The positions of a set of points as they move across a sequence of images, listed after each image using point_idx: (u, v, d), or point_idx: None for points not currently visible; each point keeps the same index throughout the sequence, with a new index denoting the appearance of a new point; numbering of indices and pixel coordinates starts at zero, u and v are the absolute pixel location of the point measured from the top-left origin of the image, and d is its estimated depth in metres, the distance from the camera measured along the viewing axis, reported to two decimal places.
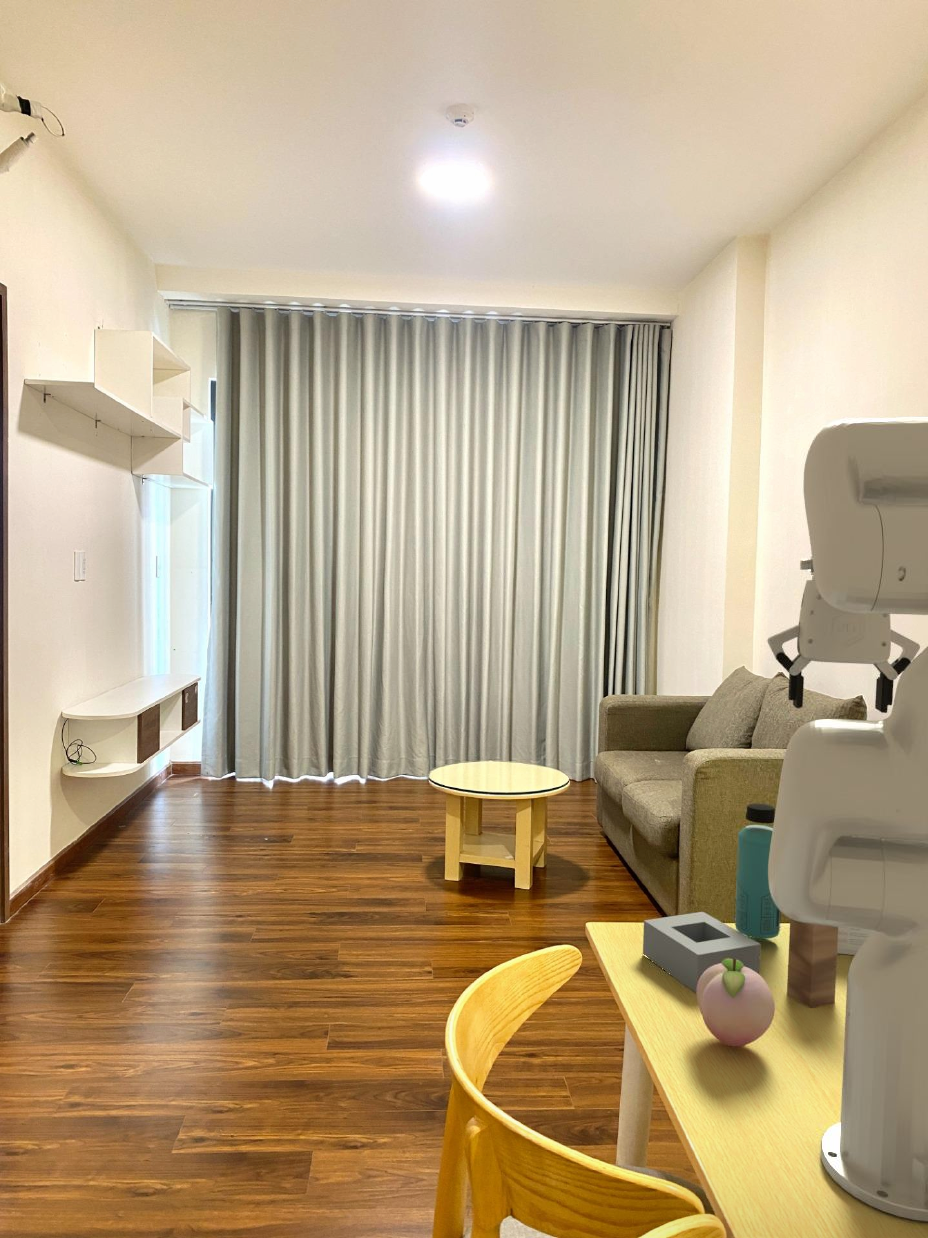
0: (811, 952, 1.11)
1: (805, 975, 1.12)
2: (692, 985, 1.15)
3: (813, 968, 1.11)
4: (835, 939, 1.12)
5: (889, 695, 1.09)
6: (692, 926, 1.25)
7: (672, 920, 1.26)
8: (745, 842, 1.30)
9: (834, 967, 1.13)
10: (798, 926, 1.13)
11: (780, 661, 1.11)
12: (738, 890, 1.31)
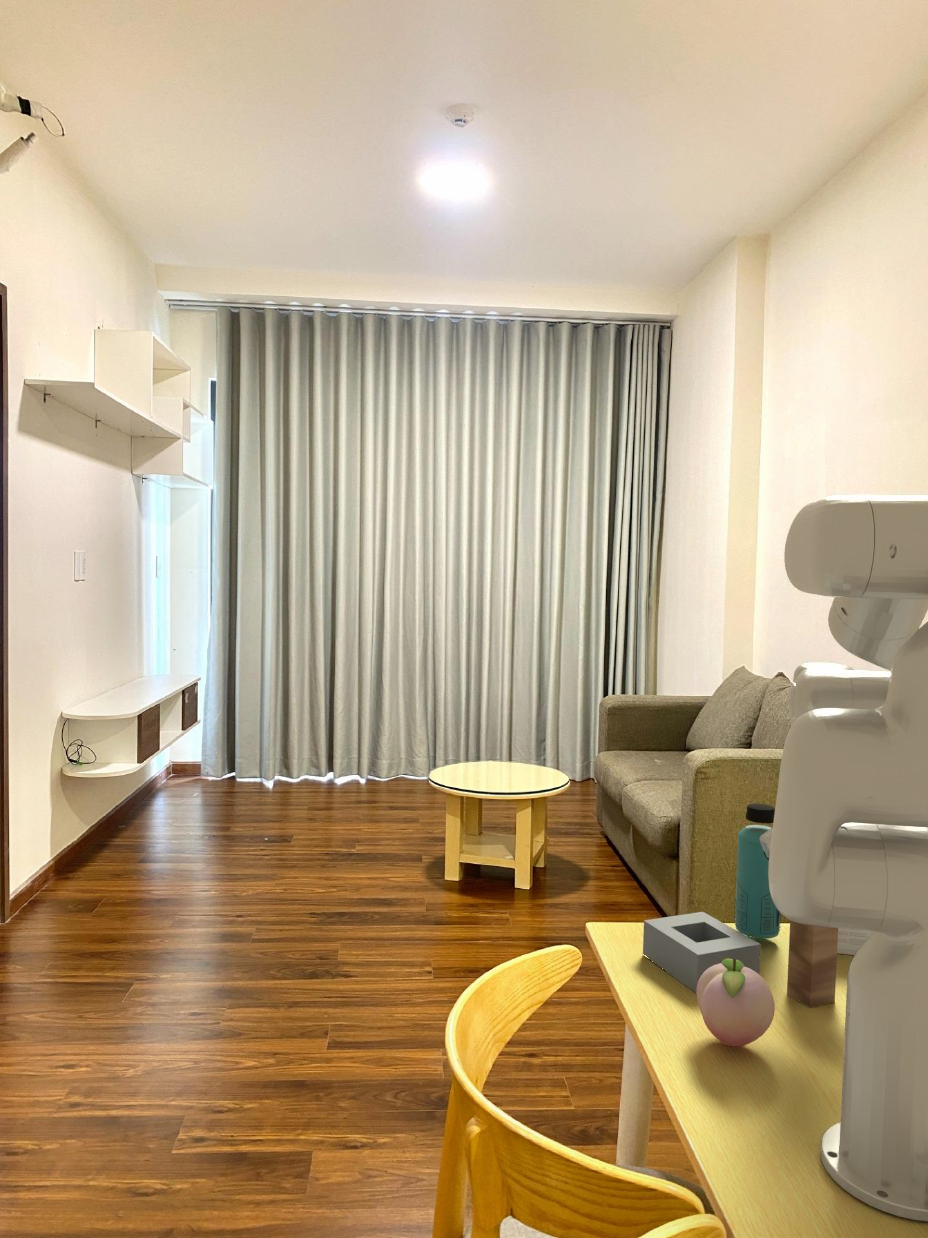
0: (811, 952, 1.11)
1: (805, 975, 1.12)
2: (692, 985, 1.15)
3: (813, 968, 1.11)
4: (835, 939, 1.12)
5: None
6: (692, 926, 1.25)
7: (672, 920, 1.26)
8: (745, 842, 1.30)
9: (834, 967, 1.13)
10: (798, 926, 1.13)
11: None
12: (738, 890, 1.31)
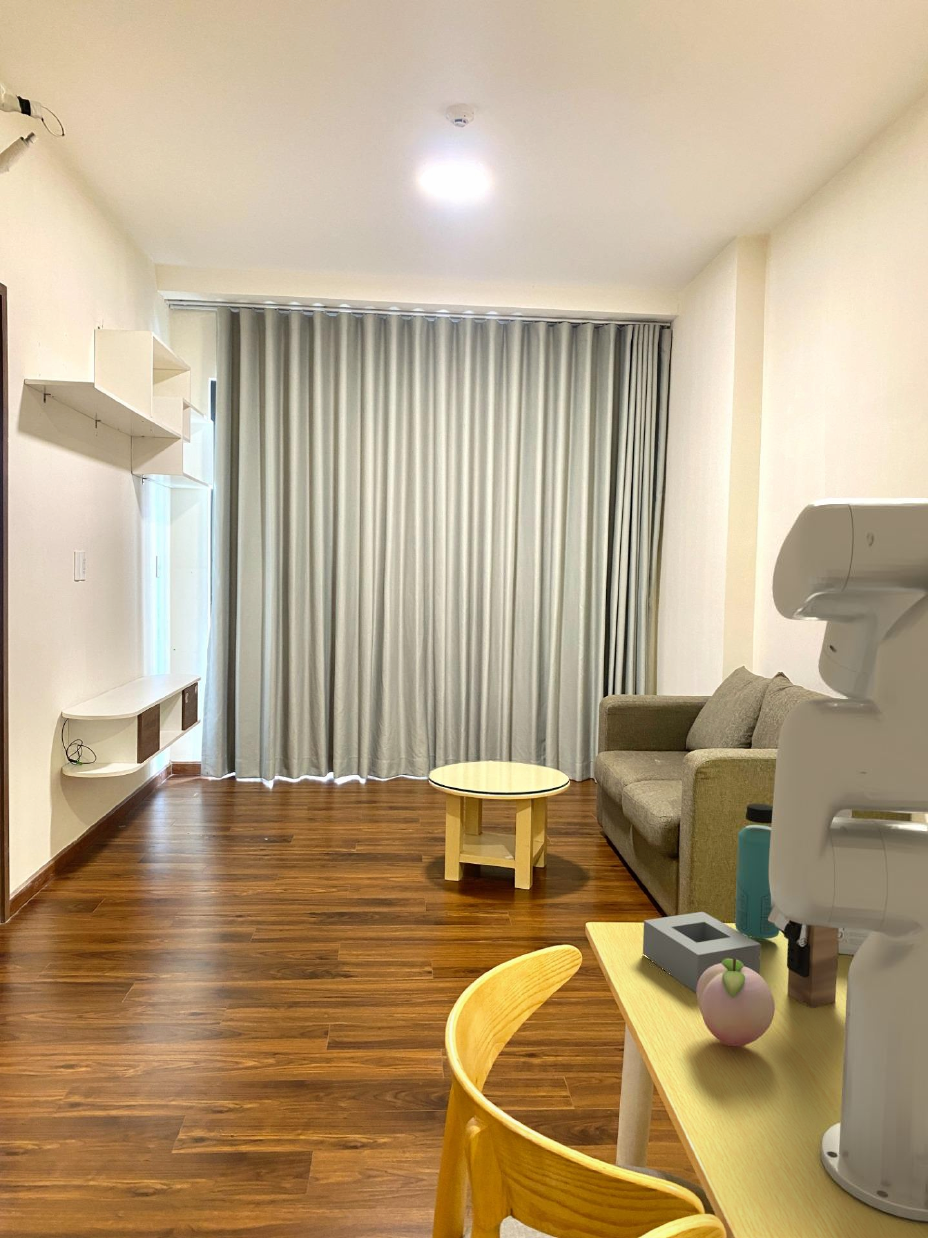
0: (812, 952, 1.11)
1: None
2: (692, 985, 1.15)
3: (814, 968, 1.11)
4: (835, 938, 1.12)
5: None
6: (692, 926, 1.25)
7: (672, 920, 1.26)
8: (745, 842, 1.30)
9: (835, 967, 1.13)
10: None
11: None
12: (738, 890, 1.31)
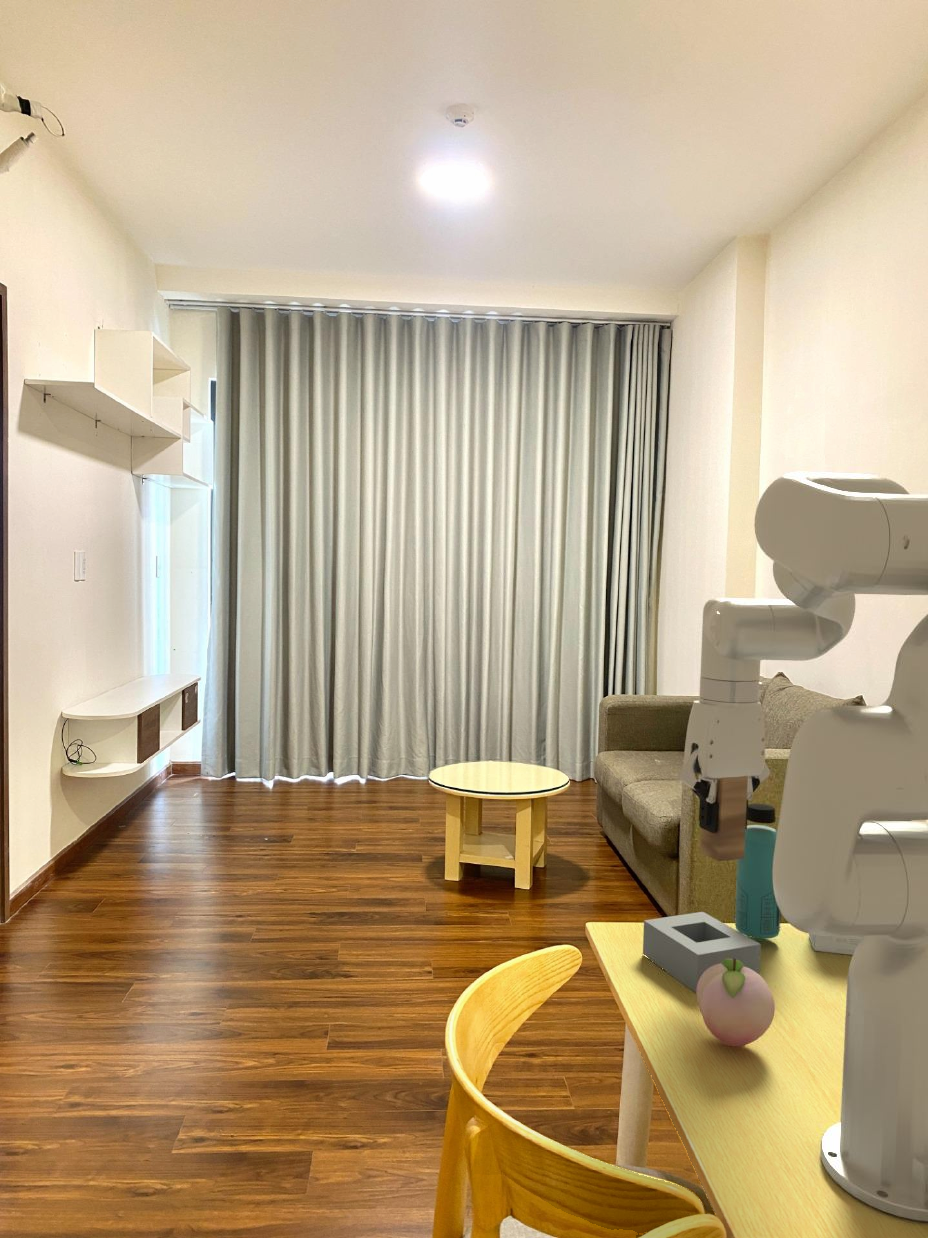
0: (720, 808, 1.17)
1: None
2: (692, 985, 1.15)
3: (722, 823, 1.17)
4: (744, 797, 1.18)
5: None
6: (692, 926, 1.25)
7: (672, 920, 1.26)
8: (745, 842, 1.30)
9: (743, 824, 1.19)
10: None
11: None
12: (738, 890, 1.31)
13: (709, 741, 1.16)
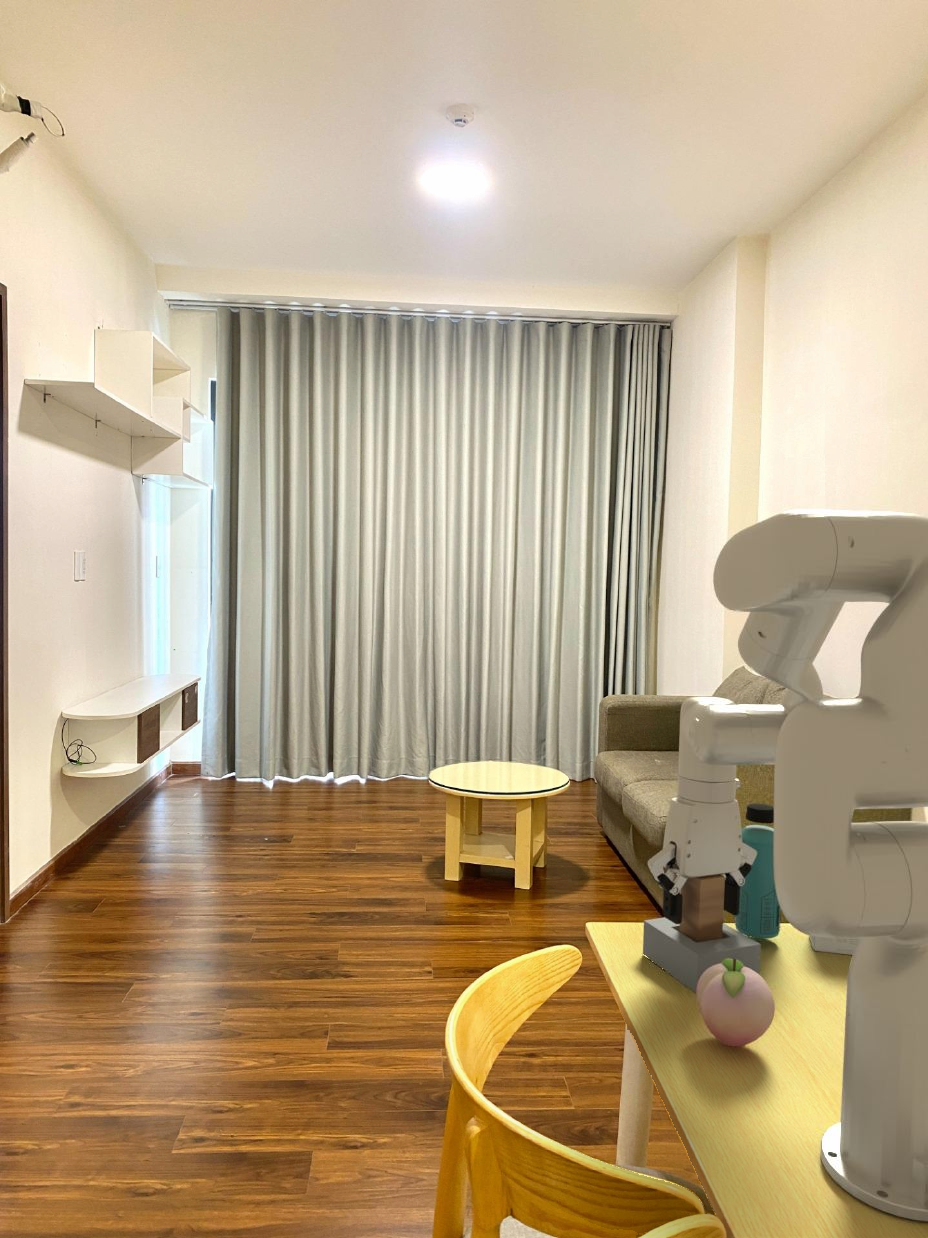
0: (698, 917, 1.19)
1: (693, 939, 1.20)
2: (692, 985, 1.15)
3: (700, 932, 1.19)
4: (721, 905, 1.20)
5: None
6: None
7: None
8: (745, 842, 1.30)
9: (720, 931, 1.21)
10: (688, 894, 1.21)
11: None
12: None
13: (687, 841, 1.18)
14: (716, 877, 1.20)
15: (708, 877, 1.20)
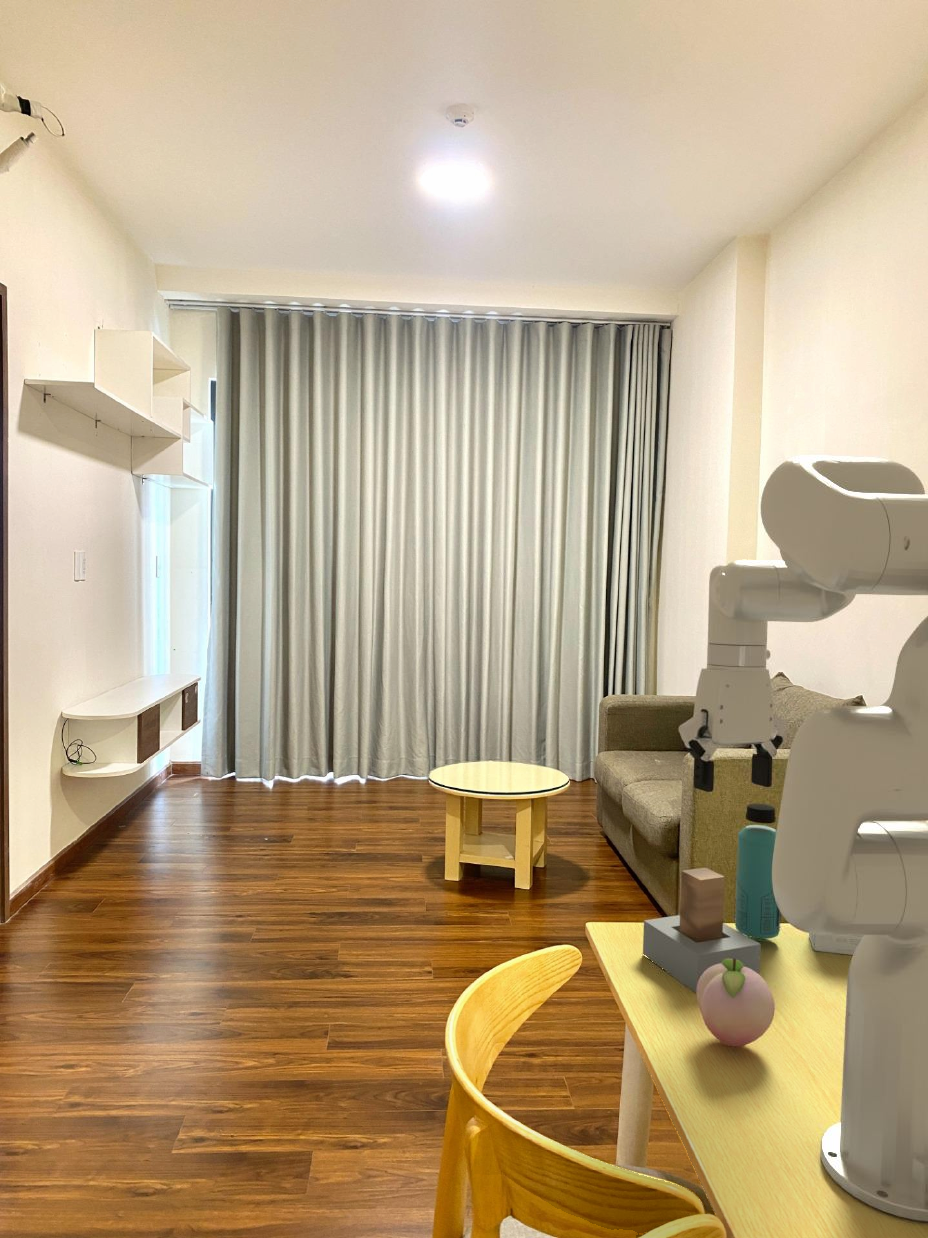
0: (698, 917, 1.19)
1: (693, 939, 1.20)
2: (692, 985, 1.15)
3: (700, 932, 1.19)
4: (721, 905, 1.20)
5: None
6: None
7: (672, 920, 1.26)
8: (745, 842, 1.30)
9: (720, 931, 1.21)
10: (688, 894, 1.21)
11: None
12: (738, 890, 1.31)
13: (719, 706, 1.15)
14: (716, 877, 1.20)
15: (708, 877, 1.20)
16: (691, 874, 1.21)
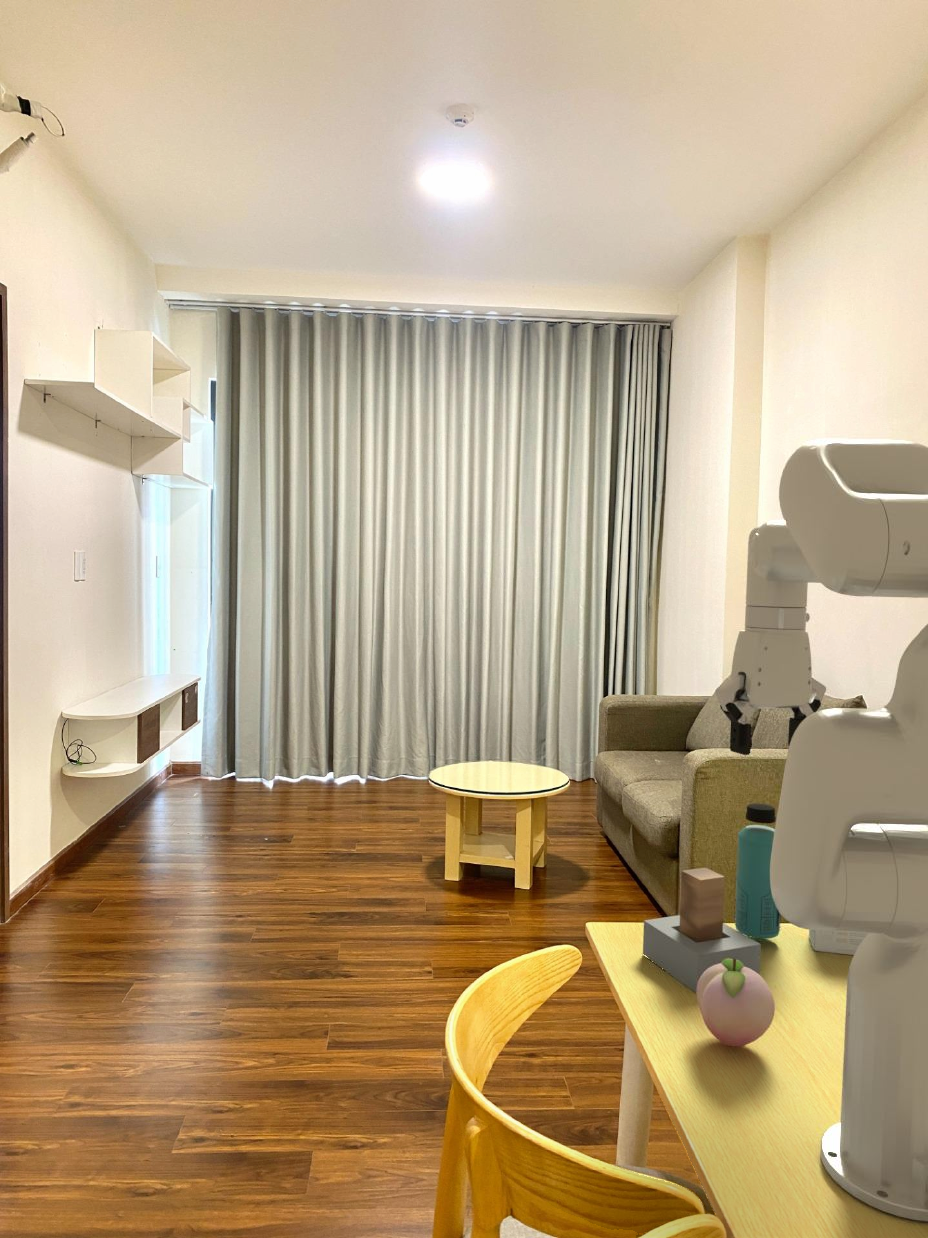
0: (698, 917, 1.19)
1: (693, 939, 1.20)
2: (692, 985, 1.15)
3: (700, 932, 1.19)
4: (721, 905, 1.20)
5: None
6: None
7: (672, 920, 1.26)
8: (745, 842, 1.30)
9: (720, 931, 1.21)
10: (688, 894, 1.21)
11: None
12: (738, 890, 1.31)
13: (757, 668, 1.14)
14: (716, 877, 1.20)
15: (708, 877, 1.20)
16: (691, 874, 1.21)
